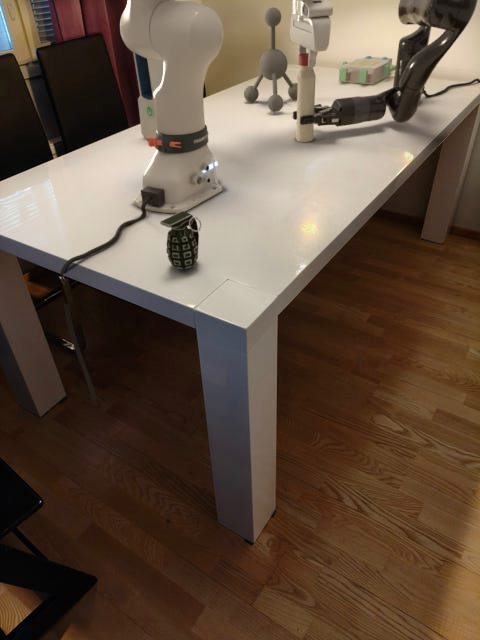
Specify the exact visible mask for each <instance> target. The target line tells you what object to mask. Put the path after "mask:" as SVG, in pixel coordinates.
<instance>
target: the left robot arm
mask: <svg viewBox="0 0 480 640" xmlns="http://www.w3.org/2000/svg"><path fill="white" fill-rule="evenodd" d="M333 13H334V6H333V3H332V2H330V0H291V15H290V22H289V23H290V25H289V38H290V42H292V43H294V44H297V51H298V55H299V54H303V53H309V57H308V59H307V66H308V67H310V68H311V67H313V68H315V67H316V64H315V59H316V60H317V56H318V52H326V51H327V50H328V48H329V45H330V37H331V27H332V26H331V25H332V23H331V22H332V21H331V16H333ZM119 32H120V36H121V39H122V42H123V43H124V45H125V46H126V48H127V49H128V50H129V51H130V52H132V53H133V52H134V53H136V54H138V55H140V56H142V57H145V58H147V59H154V60H162V61H163V63H164V73H163V79H162V83H161V84H160V85H159V86H158V87H157V88H156V89H155V91H154V94H153V101H154V108H155V114H156V121H157V128H158V129H157V130H156V138H152V137H150V138H149V139H147V146H149V147H151V148H152V147H154V148H155V151H154V153H153V155H152V157H151V159H150V162H149V163H148V165H147V167H146V169H145V172H144V173H143V176H142V189H140V193H139V195H138V196H137V197H135V199H134V205H135V206H137V207H138V208H140V210H141V214H140V216H139V217H138V218H137V217H136V218H135V219H131V220H127V221H125V222H123V223H121V224H120V225H119V227H117V230H116V232H115V234H114V235H113V237H112V238H110V240H108V241H107V242H104V243H103V244H100V245H98V246H96V247H93V248H92V249H90V250H88V251H86V252H84V253H82V254H79V255H76V256H73V257H71V258H69V259H67V260H66V262H64V264H63V265H62V267H61V269H60V275H64V274H66V273H67V271H68V268H69V267H70V266H71V265H72V264H73V263H75V262H78V261H82V260H84V259H87V258H88V257H90V256H92V255H94V254H96V253H98V252H101V251H102V250H105V249H107V248H109V247H110V246H111V245H113V244H115V242H117V241H118V239H119V238H120V236H121V233H122V231H123V230H124V229H125V228H126V227H128V226H132V225H134V224H136V223H138V222H140V221H142V220H144V219H145V218H146V216H147V211H151V212H157V213H164V214H177V213H179V212H181V211H184V212H187V211H189V210H190V209H193V208H194V207H196V206H198V205H199V204H201V203H203V202H205V201H207V200H208V199H210V198H212V197H214V196H215V195H217V194H219V193H220V192H222V191H223V185H222V184H220V183H219V180H218V174H217V168H216V167H218V161H215V156H214V155H213V153H212V152H211V149H210V147H209V145H208V143H209V130H208V126H207V124H206V120H205V119H206V118H205V105H204V88H205V87H204V85H205V81H206V80H205V79H206V76H207V73H208V70H209V67H210V65H211V64H212V62H213V61H214V60H215V59H216V58H217V57H218V55H219V53H220V52H221V49H222V47H223V43H224V27H223V23H222V20H221V18H220V16H219V14H218V13H217V12H216V10H214V9H213V8H211V7H209V6H206V5H205V4H202V3H198V2H197V1H192V0H191V1H189V0H127V2H126V6H125V8H124V10H123V12H122V13H121V16H120V20H119ZM63 307H64V313H65V318H66V323H67V326H68V331H69V335H70V338H71V341H72V344H73V348H74V350H75V353H76V355H77V359H78V362H79V364H80V366H81V370H82V372H83V374H84V377H85V380H86V383H87V385H88V389H89V391H90V395H91V398H92V401H93V402H94V403H95V402H98V398H97V394H96V390H95V388H94V385H93V382H92V379H91V377H90V373H89V370H88V369H87V366H86V363H85V360H84V357H83V355H82V352H81V348H80V346H79V343H78V342H79V341H78V339H77V335H76V332H75V327H74V323H73V320H72V315H71V310H70V309H71V308H70V303H69V304H68V303H65V302H63Z"/></svg>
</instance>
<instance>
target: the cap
mask: <svg viewBox="0 0 480 640" xmlns="http://www.w3.org/2000/svg"><path fill="white" fill-rule="evenodd" d="M308 57H309V53H308V52H306V53H303V54H299V53H298V66H300V67H301V66H307V59H308ZM316 61H317V58H316V59H315V65H316Z"/></svg>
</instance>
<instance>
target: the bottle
mask: <svg viewBox="0 0 480 640" xmlns="http://www.w3.org/2000/svg"><path fill="white" fill-rule="evenodd" d="M316 79H317V76H316V72H315V69H314V67H311V68H310V67H308V66H300V69H299V72H298V74H297V83H298V86H297V99H296V111H297V120H296V132H295V133H296V136H295V137H296V139H295V140H296V141H297V142H300V143H309V142H312V141H313V140H314V125H315V124H305V125H301V124H300V117H301V116H308V115H314V105H316V104H315V102H316V101H315V100H316Z"/></svg>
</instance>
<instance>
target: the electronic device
mask: <svg viewBox="0 0 480 640" xmlns="http://www.w3.org/2000/svg"><path fill="white" fill-rule="evenodd" d="M132 54H133V60H134V61H133V62H134V65H135V72H136V79H137V86H138V90H139V97H138V98H137V103H138V113H139V123H140V129H141V130H140V131H141V135H142V136H143V138H144V139H146V140H148V139H149V138H150V137H152V138H156V130H157V129H158V128H157V121H156V114H155V108H154V101H153V94H154V91H155V89H156V88H157V87H158V86H159V85H160V84H161V83H162V79H163V73H164V63H163V61H162V60H154V59H147V58H145V57H142V56H140V55H138V54H136V53H134V52H133V51H132Z"/></svg>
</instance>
